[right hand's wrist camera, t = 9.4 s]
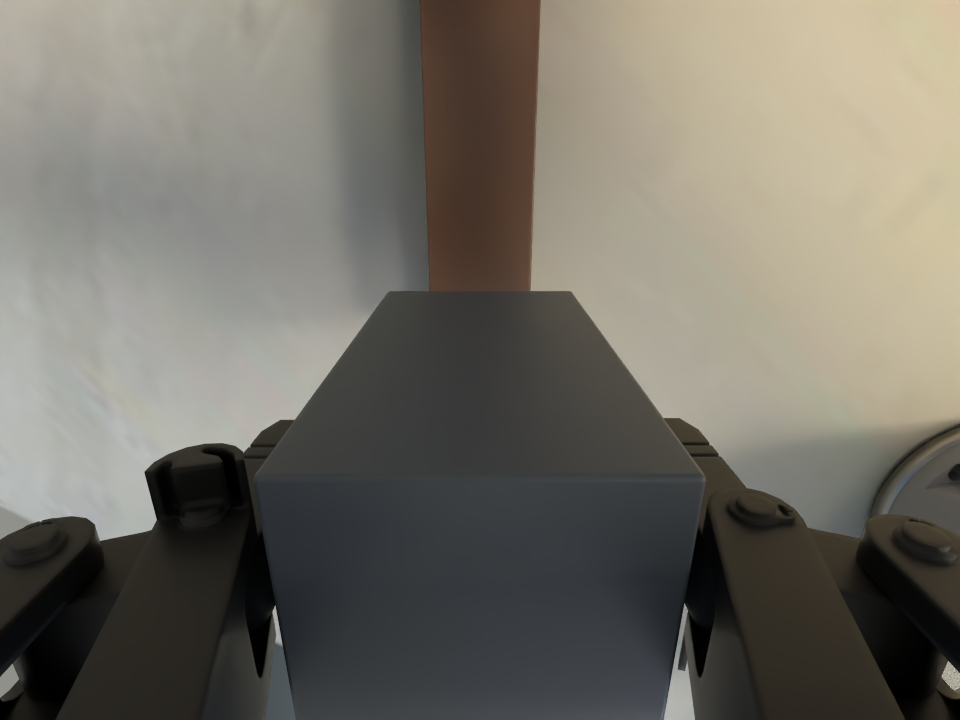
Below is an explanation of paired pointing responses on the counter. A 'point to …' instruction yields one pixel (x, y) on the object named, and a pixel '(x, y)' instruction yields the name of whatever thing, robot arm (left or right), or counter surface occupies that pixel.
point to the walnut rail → (480, 141)
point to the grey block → (479, 521)
